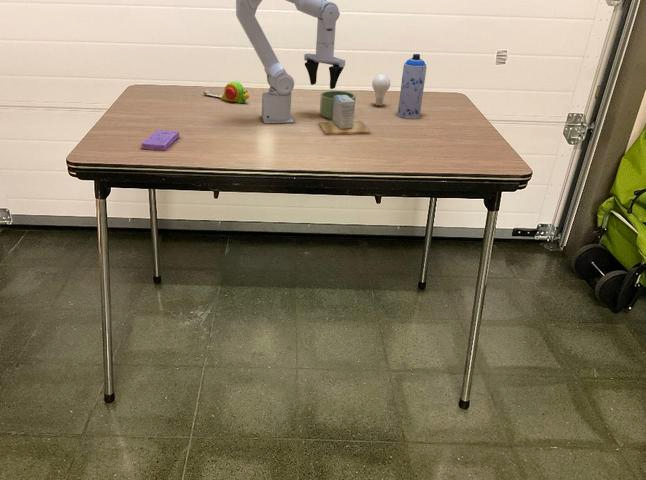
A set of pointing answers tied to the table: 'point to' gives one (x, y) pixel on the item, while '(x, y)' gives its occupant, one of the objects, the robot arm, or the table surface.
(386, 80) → the lightbulb
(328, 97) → the pot
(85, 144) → the table surface
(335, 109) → the medicine box
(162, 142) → the sponge
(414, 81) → the aerosol can
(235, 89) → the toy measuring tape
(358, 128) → the board
